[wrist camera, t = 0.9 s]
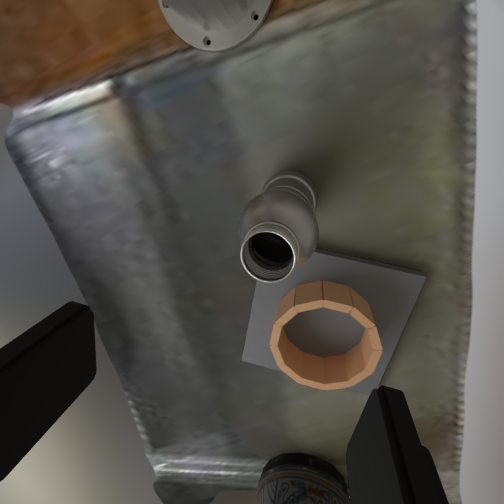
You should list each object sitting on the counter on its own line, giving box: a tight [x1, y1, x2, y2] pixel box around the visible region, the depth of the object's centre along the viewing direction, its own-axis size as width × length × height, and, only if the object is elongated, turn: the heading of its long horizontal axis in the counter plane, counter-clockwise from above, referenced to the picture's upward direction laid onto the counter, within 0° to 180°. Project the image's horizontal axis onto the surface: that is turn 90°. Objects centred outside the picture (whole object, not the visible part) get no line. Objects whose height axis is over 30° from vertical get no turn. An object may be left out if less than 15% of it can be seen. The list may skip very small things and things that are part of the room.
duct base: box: [242, 248, 426, 395], centre depth 40 cm, size 20×20×6 cm
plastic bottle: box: [238, 171, 319, 283], centre depth 28 cm, size 6×7×20 cm
